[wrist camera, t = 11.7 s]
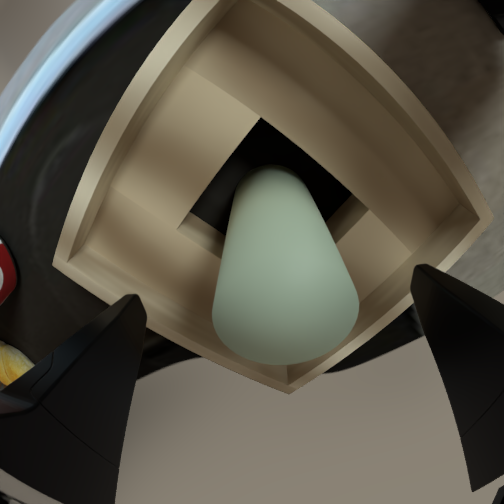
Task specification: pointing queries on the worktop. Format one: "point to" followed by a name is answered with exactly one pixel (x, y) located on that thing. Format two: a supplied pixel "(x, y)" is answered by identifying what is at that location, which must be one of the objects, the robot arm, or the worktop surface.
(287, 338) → the peg
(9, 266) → the soda can
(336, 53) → the open-top box
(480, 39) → the worktop surface
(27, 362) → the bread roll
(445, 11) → the worktop surface
